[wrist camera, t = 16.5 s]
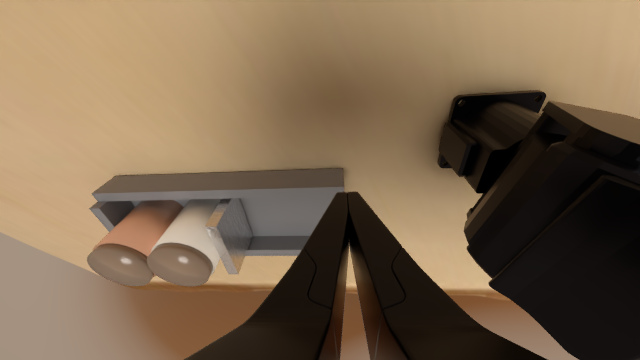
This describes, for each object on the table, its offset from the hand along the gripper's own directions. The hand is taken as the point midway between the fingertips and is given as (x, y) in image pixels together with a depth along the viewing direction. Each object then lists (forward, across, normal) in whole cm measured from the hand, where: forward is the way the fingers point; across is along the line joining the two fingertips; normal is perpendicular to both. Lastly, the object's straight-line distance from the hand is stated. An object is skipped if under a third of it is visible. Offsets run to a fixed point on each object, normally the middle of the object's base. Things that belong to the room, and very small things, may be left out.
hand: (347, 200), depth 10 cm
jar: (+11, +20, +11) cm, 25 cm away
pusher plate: (+11, +11, +11) cm, 19 cm away
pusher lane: (+12, +12, +11) cm, 20 cm away
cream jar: (+11, +14, +11) cm, 21 cm away
